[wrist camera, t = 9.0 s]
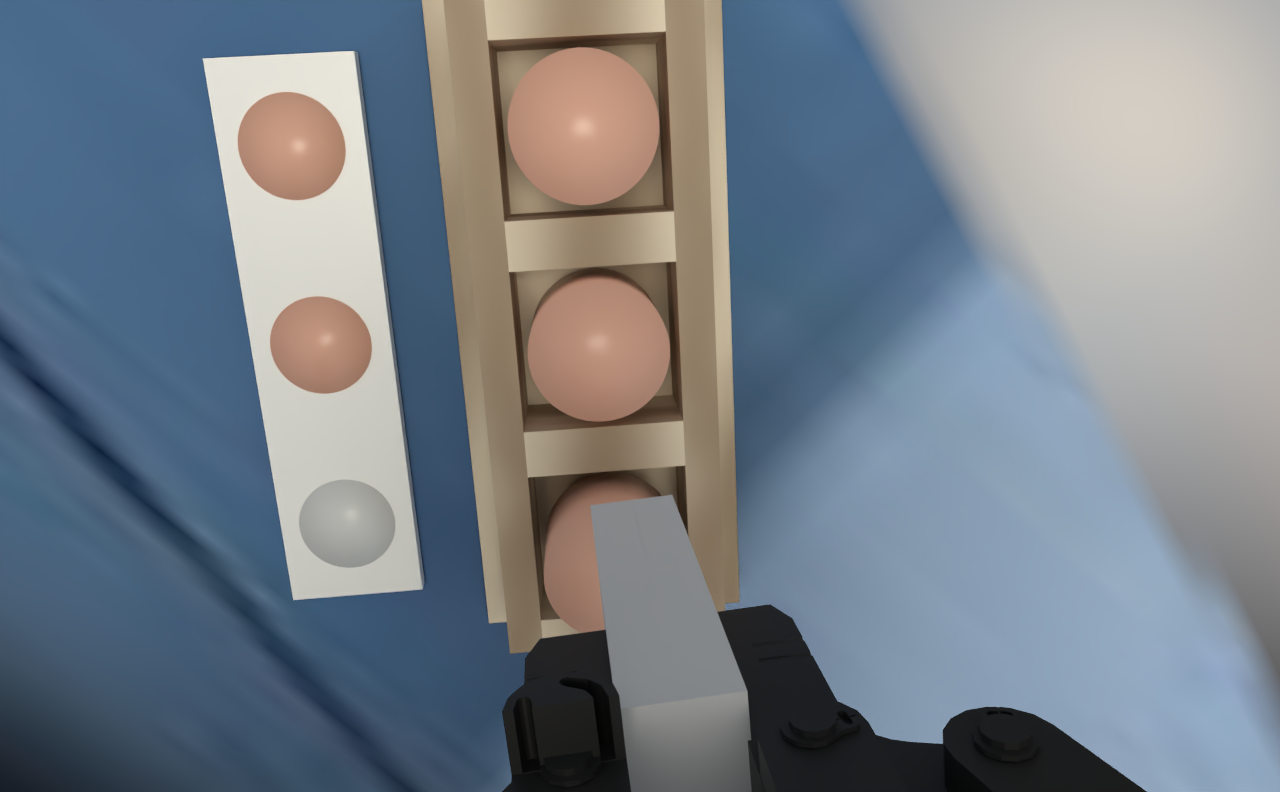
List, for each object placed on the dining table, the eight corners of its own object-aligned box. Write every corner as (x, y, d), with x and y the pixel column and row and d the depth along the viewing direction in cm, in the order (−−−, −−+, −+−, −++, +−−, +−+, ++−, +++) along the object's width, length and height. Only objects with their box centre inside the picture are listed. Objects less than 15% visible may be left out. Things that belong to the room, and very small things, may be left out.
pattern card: (297, 592, 37) (292, 601, 36) (209, 60, 32) (201, 58, 31) (424, 582, 37) (422, 590, 37) (357, 52, 32) (353, 50, 32)
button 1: (520, 203, 32) (514, 209, 29) (508, 61, 31) (500, 51, 28) (653, 195, 32) (662, 200, 29) (646, 54, 31) (655, 43, 28)
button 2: (551, 596, 34) (549, 645, 31) (541, 477, 33) (538, 515, 30) (677, 585, 34) (688, 633, 31) (671, 467, 33) (682, 503, 30)
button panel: (491, 611, 38) (480, 671, 34) (426, 2, 32) (403, -21, 28) (735, 590, 38) (756, 646, 34) (716, -12, 32) (738, -37, 28)
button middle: (537, 398, 34) (533, 426, 31) (526, 272, 33) (521, 286, 29) (663, 389, 34) (673, 416, 31) (656, 264, 33) (666, 277, 30)
